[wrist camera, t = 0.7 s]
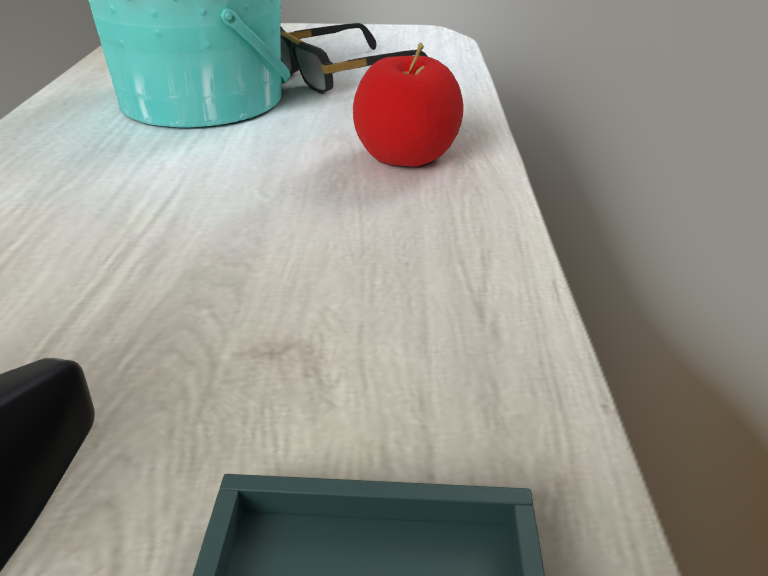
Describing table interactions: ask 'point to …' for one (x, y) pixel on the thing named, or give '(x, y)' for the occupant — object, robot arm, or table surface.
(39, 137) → the table surface
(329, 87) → the sunglasses
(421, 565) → the bin
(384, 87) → the fruit
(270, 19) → the basket
